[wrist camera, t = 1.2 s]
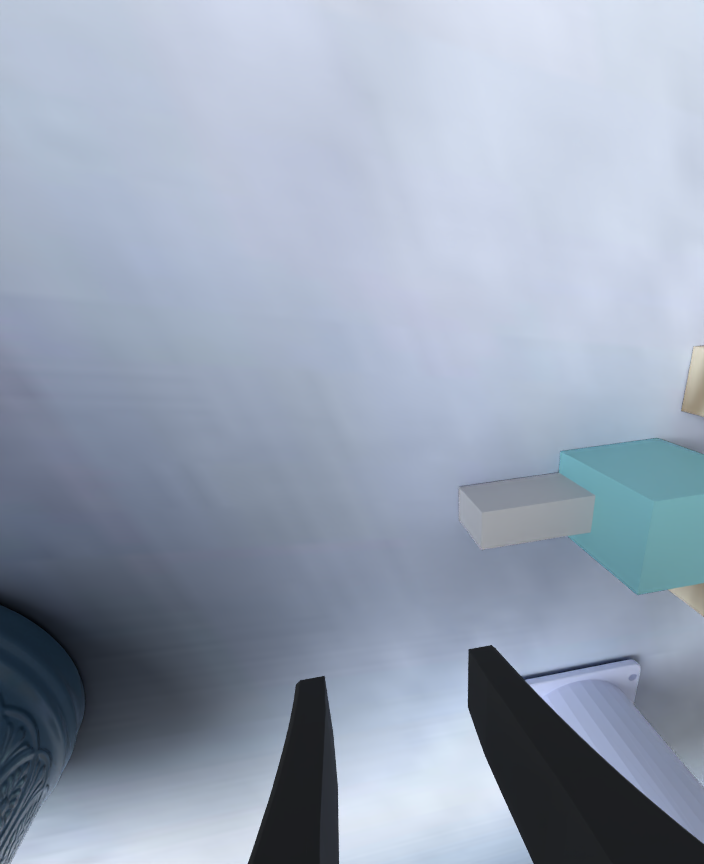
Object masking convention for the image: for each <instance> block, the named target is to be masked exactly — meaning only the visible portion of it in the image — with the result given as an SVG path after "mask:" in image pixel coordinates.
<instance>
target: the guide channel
mask: <svg viewBox="0 0 704 864" xmlns="http://www.w3.org/2000/svg"><path fill="white" fill-rule="evenodd" d="M681 411H684V412H688V413H692V414H695V415H699V416H703V417H704V346H696V347H694V348H693V353H692V358H691V364H690V369H689V374H688V379H687V384H686V390H685V395H684V400H683V405H682V410H681ZM668 590H669V591H670V592H672V593H673V594H674V595H676V596H677V597H678V598H680V599H681V600H682V601H683V602H685V603H686V604H687V605H689V606H690V607H691V608H693V609H694V610H695V611H697V612H698V613H699V614H701V615H702V616H703V617H704V583H701V584H696V585H690V586H685V587H679V588H674V589H668Z"/></svg>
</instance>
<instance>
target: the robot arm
mask: <svg viewBox="0 0 704 864" xmlns="http://www.w3.org/2000/svg"><path fill="white" fill-rule="evenodd" d="M640 671H641V666H640V665H639V664H638V663H637V662H636V661H635V660H633V659H630V660H624V661H619V662H614V663H609V664H604V665H599V666H593V667H588V668H583V669H578V670H573V671H568V672H563V673H557V674H552V675H547V676H542V677H537V678H532V679H527V680H524V679H523V678H522V677H521V676H520V675H519V674H518V673H517V671H516V670H515V669H514V668H513V667H512V666H511V665H510V664H509V663H508V662H507V661H506V659H505V658H504V657H503V656H502V655H501V654H500V653H499V652H498V651H497V650H496V648H494V647H493V646H492V645H490V646H485V647H479V648H474V649H469V661H468V708H469V711H470V714H471V717H472V720H473V723H474V726H475V729H476V732H477V735H478V737H479V740H480V743H481V746H482V749H483V751H484V754H485V757H486V759H487V761H488V764H489V766H490V768H491V770H492V773H493V775H494V777H495V779H496V781H497V784H498V786H499V788H500V790H501V793H502V795H503V797H504V799H505V801H506V804H507V806H508V808H509V810H510V812H511V815H512V817H513V819H514V821H515V823H516V826H517V828H518V830H519V832H520V835H521V837H522V839H523V841H524V843H525V846H526V848H527V850H528V852H529V854H530V857H531V859H532V861H533V863H534V864H704V787H703V786H702V785H701V784H700V783H699V781H698V780H697V779H696V778H695V777H694V775H693V774H692V773H691V772H690V771H689V770H688V768H687V767H686V766H685V765H684V764H683V762H682V761H681V760H680V759H679V758H678V757H677V755H676V754H675V753H674V752H673V751H672V749H671V748H670V747H669V746H668V745H667V743H666V742H665V741H664V740H663V739H662V738H661V736H660V735H659V734H658V733H657V732H656V730H655V729H654V728H653V727H652V726H651V725H650V723H649V722H648V721H647V720H646V719H645V717H644V716H643V715H642V714H641V713H640V711H639V710H638V709H637V708H636V707H635V706H634V701H635V696H636V691H637V686H638V681H639V676H640ZM248 864H339V833H338V783H337V772H336V760H335V749H334V737H333V729H332V722H331V716H330V709H329V702H328V696H327V689H326V682H325V676H322V677H316V678H311V679H305V680H300V681H299V682H298V683H297V684H296V689H295V696H294V702H293V708H292V713H291V718H290V723H289V727H288V731H287V735H286V740H285V744H284V748H283V752H282V755H281V759H280V762H279V766H278V770H277V773H276V777H275V780H274V784H273V788H272V791H271V794H270V798H269V801H268V804H267V807H266V810H265V813H264V816H263V819H262V823H261V826H260V829H259V832H258V835H257V838H256V841H255V844H254V847H253V850H252V853H251V856H250V859H249V862H248Z"/></svg>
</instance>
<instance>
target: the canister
mask: <svg viewBox="0 0 704 864" xmlns="http://www.w3.org/2000/svg"><path fill="white" fill-rule="evenodd" d="M84 711H85V693H84V687H83V683H82V680H81V677H80V674H79V672H78V670H77V668H76V666H75V664H74V663H73V661H72V660H71V658H70V657H69V655H68V654H67V653H66V651H65V650H64V649H63V648H62V647H61V646H60V644H59V643H58V642H57V641H56V640H54V639H53V638H52V637H51V636H50V635H49V634H48V633H47V632H45V631H44V630H43V629H42V628H40V627H39V626H38V625H36V624H35V623H33V622H32V621H30V620H29V619H27V618H25V617H24V616H22V615H20V614H18V613H16V612H14V611H12V610H10V609H8V608H6V607H4V606H1V605H0V864H10V863H11V862H12V860H13V858H14V856H15V854H16V852H17V850H18V848H19V846H20V844H21V843H22V841H23V839H24V837H25V835H26V833H27V831H28V829H29V827H30V826H31V824H32V822H33V820H34V818H35V816H36V814H37V812H38V810H39V808H40V807H41V805H42V804H43V803H44V802H45V801H46V800H47V798H48V797H49V796H50V794H51V793H52V791H53V790H54V788H55V787H56V785H57V783H58V781H59V779H60V777H61V775H62V772H63V770H64V768H65V767H66V765H67V763H68V762H69V759H70V757H71V755H72V752H73V749H74V746H75V742H76V738H77V733H78V730H79V728H80V726H81V723H82V720H83V716H84Z"/></svg>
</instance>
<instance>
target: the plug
mask: <svg viewBox="0 0 704 864" xmlns="http://www.w3.org/2000/svg"><path fill="white" fill-rule="evenodd" d="M459 521H460V523H461V524H462V525H463V527H464V528H465V529H466V530H467V532H468V533H469V534H470V536H471V537H472V538H473V540H474V541H475V542H476V544H477V545H478V546H479V548H480V549H481V550H484V549H490V548H497V547H503V546H509V545H515V544H521V543H528V542H534V541H540V540H546V539H553V538H559V537H565V536H568V537H569V538H570V539H571V540H573V541H574V542H575V543H576V544H577V545H578V546H580V547H581V548H582V549H583V550H584V551H586V552H587V553H588V554H589V555H590V556H591V557H593V558H594V559H595V560H596V561H597V562H599V563H600V564H601V565H602V566H603V567H605V568H606V569H607V570H608V571H609V572H610V573H612V574H613V575H614V576H615V577H616V578H618V579H619V580H620V581H621V582H622V583H624V584H625V585H626V586H627V587H628V588H629V589H631V590H632V591H633V592H634V593H635V594H637V595H640V594H646V593H651V592H657V591H663V590H668V589H674V588H679V587H685V586H690V585H696V584H701V583H704V454H701V453H698V452H695V451H693V450H690V449H687V448H684V447H681V446H678V445H676V444H673V443H670V442H667V441H664V440H662V439H659V438H653V439H646V440H639V441H631V442H624V443H617V444H610V445H602V446H595V447H588V448H581V449H573V450H566V451H561V453H560V464H559V473H552V474H545V475H538V476H531V477H524V478H517V479H510V480H503V481H496V482H489V483H482V484H475V485H468V486H461V487H459Z"/></svg>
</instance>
